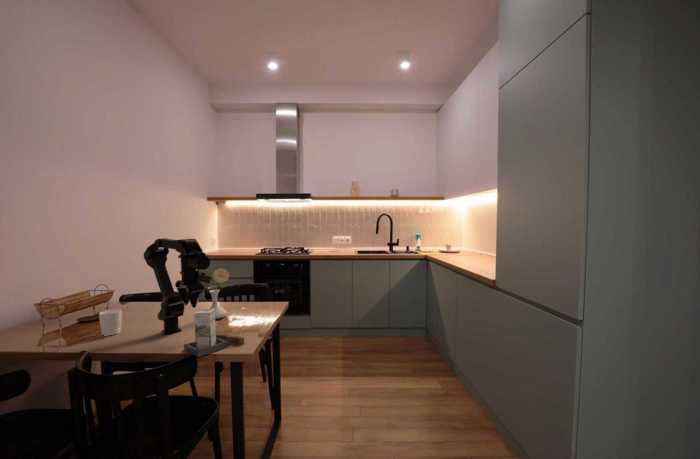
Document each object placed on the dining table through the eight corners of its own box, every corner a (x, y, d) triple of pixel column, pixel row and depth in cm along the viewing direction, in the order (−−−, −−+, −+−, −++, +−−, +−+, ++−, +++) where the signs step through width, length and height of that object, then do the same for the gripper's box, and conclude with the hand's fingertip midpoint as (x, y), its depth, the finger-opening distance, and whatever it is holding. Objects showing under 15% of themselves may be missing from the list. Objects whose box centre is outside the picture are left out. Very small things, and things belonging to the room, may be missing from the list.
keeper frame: (184, 349, 115) (183, 344, 115) (213, 340, 123) (213, 335, 123) (198, 357, 107) (197, 351, 107) (228, 346, 116) (228, 341, 116)
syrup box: (216, 344, 119) (215, 307, 119) (211, 350, 113) (209, 311, 113) (201, 345, 118) (199, 308, 118) (195, 352, 112) (193, 312, 112)
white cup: (126, 332, 137) (125, 309, 137) (106, 338, 130) (105, 314, 130) (116, 330, 141) (115, 308, 140) (96, 335, 133) (95, 313, 133)
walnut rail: (204, 338, 126) (204, 332, 126) (207, 337, 127) (207, 331, 127) (241, 345, 117) (240, 338, 117) (244, 343, 119) (243, 337, 119)
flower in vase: (200, 322, 148) (198, 271, 147) (205, 315, 159) (203, 267, 158) (229, 319, 151) (227, 269, 151) (232, 313, 162) (230, 266, 162)
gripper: (217, 268, 127) (218, 305, 128) (201, 265, 141) (202, 298, 141) (188, 271, 120) (189, 311, 120) (174, 268, 133) (175, 303, 133)
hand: (190, 305), depth 129 cm, fingers open, 9 cm apart
